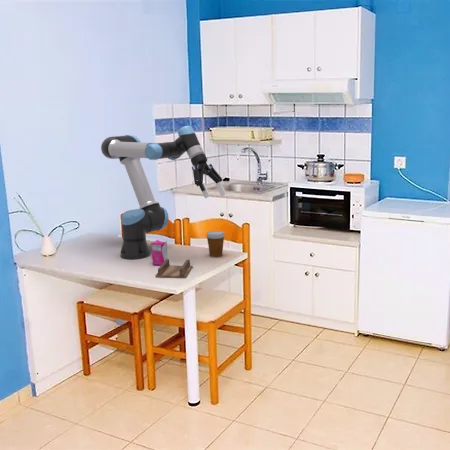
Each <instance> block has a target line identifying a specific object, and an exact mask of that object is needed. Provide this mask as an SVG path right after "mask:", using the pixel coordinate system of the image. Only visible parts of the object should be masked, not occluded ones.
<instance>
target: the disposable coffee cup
mask: <svg viewBox="0 0 450 450" xmlns="http://www.w3.org/2000/svg"><path fill="white" fill-rule="evenodd" d="M225 236H226V235H225V232H224V231H222V230H210V231H208V232H207V233H206V235H205V237H206V239H207V245H208V251H209V256H210V257H211V258H219V257H220V258H221V257H222V256H223V252H224V251H223V250H224V242H225Z"/></svg>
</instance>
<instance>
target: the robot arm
mask: <svg viewBox="0 0 450 450" xmlns="http://www.w3.org/2000/svg"><path fill="white" fill-rule="evenodd" d="M177 135H178V137H177V138H176V139H175V140H174V141H166V142H141V140H140V139H139V138H138V137H137V136H135V135H131V134H130V135H129V134H125V135H116V136H109V137H106V138H105V139H104V140H103V141H102V143H101V147H100V150H101V153H102V155H103V156H104V157H105V158H107V159H109V160H110V159H111V160H119V162H120V164H121V165H124V168H125V169H126V173H127V176H128V178H129V181H130V184H131V186H132V189H133V192H134V194H135V197H136V199H137V203H138V205H139V208H135V209H129V210H126V211H124V212H123V213H122V214H121V215H122V216H121V226H122V229H121V230H122V240H123V241H122V245H121V249H120V257H121V258H122V259H127V260H139V259H140V260H141V259H144V258H148V257H149V256H150V255H151V250H150V246H149V244H148V242H147V236H146V234H147V233H151V232H155V231H156V232H157V231H158V232H159V231H160V230H163V229H165V228H166V227H167V225H168V222H169V213H168V211H167V210H166V208H164V207H162V206H161V205H160V203H159V202H158V201H156V200H155V196H154V194H153V191H152V188H151V186H150V184H149V181H148V177H147V176H146V174H145V170H144V168H143V165H142V162H141V159H148V160H151V161H157V160H162V159H168V160H171V161H176V160H177V159H180V158H181V156H182V155H184V154H185V153H186V154H187V157H188V158H189V160H190V162H191V165H192V166H191V170H192V174H193V181H194V185H196V187H199V189H200V191H201V192H202V194H203V197H204V199H207V198H209V197H210V196H211V194H210V192H209V191H208V188H207V186H206V184H205V182H204V175H206V176H207V177H208V178H209V179H211V180H212V181H213V182H214V183H215V187H216V188H217V190H218V193H219V194H220V197H223V196H225V195H226V194H227V192H226V190H225V188H224V186H223V184H222V181H223V178H222V177H221V176H220V174H219V173H218V172H217V171H216V169H215V167H214V166H213V164H212V163H209V164H208V158H207V156H206V153H204V152H205V151H204V149H203V147H202V145H201V144H200V141H199V139H198V136H197V134H196V131H195V130H194V128H193V127H192V125H185V126H182V127H181V128H180V129H178V130H177Z"/></svg>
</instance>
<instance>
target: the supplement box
mask: <svg viewBox="0 0 450 450" xmlns="http://www.w3.org/2000/svg"><path fill="white" fill-rule="evenodd" d="M150 247H151V257H152V259H151V260H152V265H153V266H157V267H158V266H159V267H160V266H161V265H162V264H163V262H164V261H165V260H166V259H169V255H168V253H169V252H168V243H167V240H160V239H156V240H155V241H152V242H151V243H150Z"/></svg>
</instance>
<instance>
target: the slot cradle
mask: <svg viewBox="0 0 450 450" xmlns="http://www.w3.org/2000/svg"><path fill="white" fill-rule="evenodd" d="M193 268H194V267H193V265H191V260H190V259H186V260H185V261H184V262H183V264H182V265H170V259H169V258H168V259H166V260H165V261H164V262H163V264H162V265H161V266H159V267H158V268H157V273H156V274H155V278H159V279H160V278H163V279H164V278H167V279H187V277H188V275H190V272H191V271H192V270H191V269H193Z"/></svg>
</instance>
